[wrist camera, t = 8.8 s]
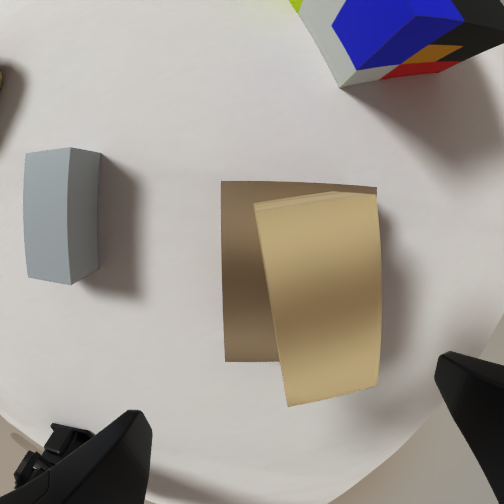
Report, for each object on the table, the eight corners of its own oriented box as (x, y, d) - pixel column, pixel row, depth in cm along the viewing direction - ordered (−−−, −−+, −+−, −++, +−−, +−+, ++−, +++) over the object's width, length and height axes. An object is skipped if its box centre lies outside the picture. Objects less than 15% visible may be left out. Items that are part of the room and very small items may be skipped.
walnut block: (338, 326, 19) (356, 355, 16) (228, 329, 19) (225, 361, 15) (350, 186, 17) (376, 187, 13) (226, 182, 17) (220, 181, 13)
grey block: (100, 267, 18) (71, 285, 14) (59, 262, 18) (28, 277, 14) (102, 153, 16) (70, 147, 12) (59, 156, 16) (25, 153, 12)
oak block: (344, 332, 15) (377, 385, 10) (277, 346, 15) (287, 406, 10) (332, 191, 13) (375, 194, 8) (253, 203, 13) (256, 212, 9)
